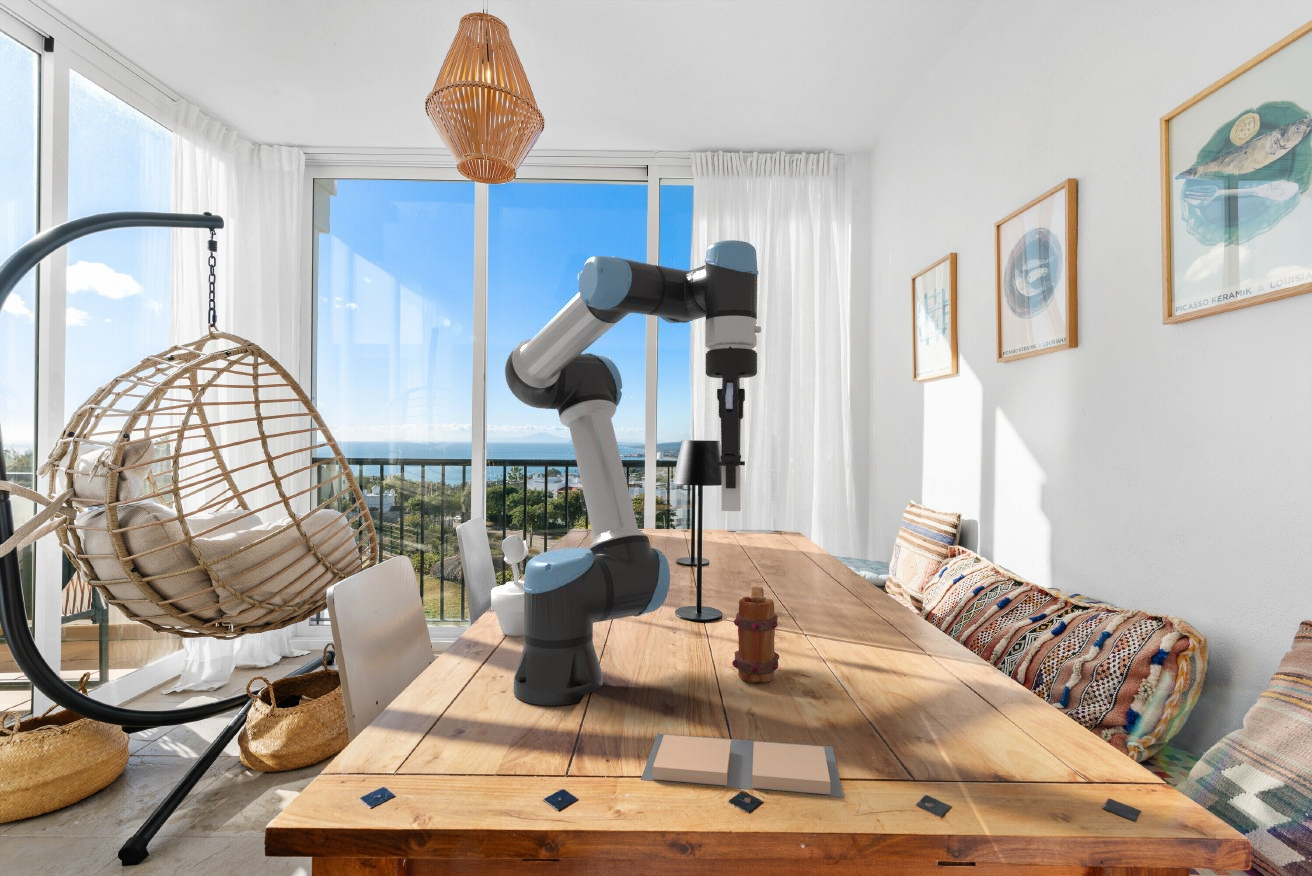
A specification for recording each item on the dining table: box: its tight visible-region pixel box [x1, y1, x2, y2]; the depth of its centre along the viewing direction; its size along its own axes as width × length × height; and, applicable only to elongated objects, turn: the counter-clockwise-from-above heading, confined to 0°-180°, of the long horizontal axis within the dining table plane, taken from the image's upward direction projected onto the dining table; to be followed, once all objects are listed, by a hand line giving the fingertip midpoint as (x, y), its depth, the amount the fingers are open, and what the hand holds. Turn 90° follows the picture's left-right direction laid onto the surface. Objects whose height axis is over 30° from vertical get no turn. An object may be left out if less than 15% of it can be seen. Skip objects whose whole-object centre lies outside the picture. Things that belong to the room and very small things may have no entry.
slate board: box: [640, 733, 844, 799], centre depth 86 cm, size 24×13×1 cm, turn 81°
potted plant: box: [490, 523, 540, 637], centre depth 148 cm, size 13×12×25 cm
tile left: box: [653, 734, 731, 785], centre depth 85 cm, size 9×2×9 cm
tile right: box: [752, 741, 830, 794], centre depth 83 cm, size 9×2×9 cm
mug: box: [731, 586, 780, 684], centre depth 122 cm, size 15×8×15 cm, turn 168°
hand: (731, 510), depth 97 cm, fingers closed
